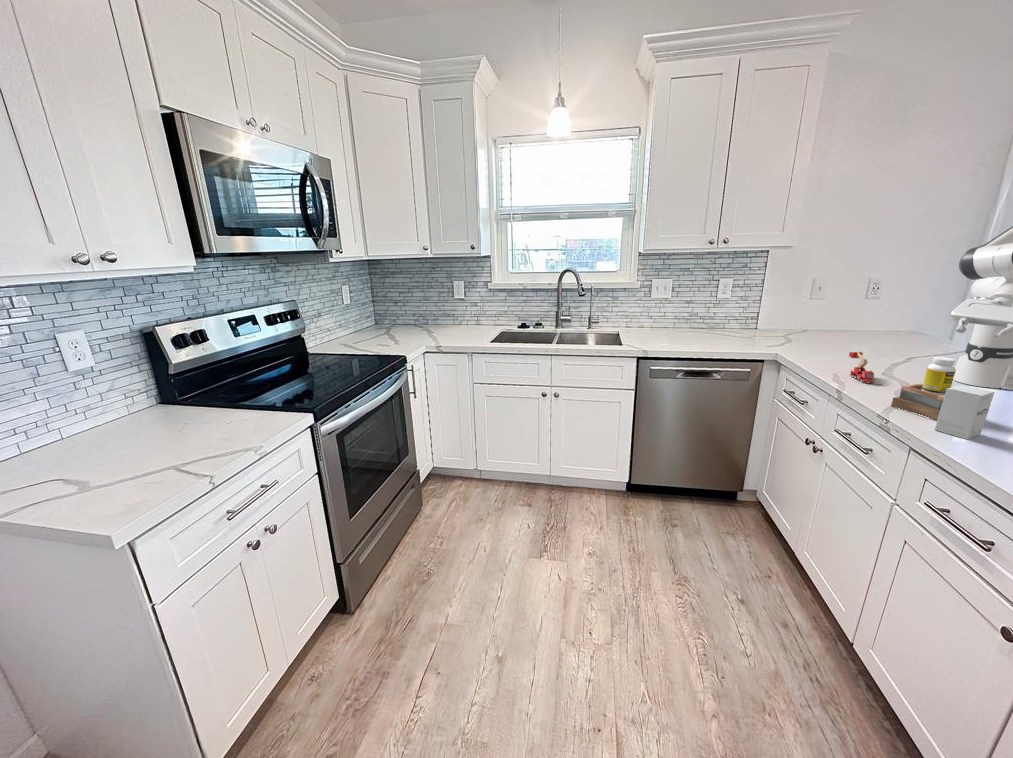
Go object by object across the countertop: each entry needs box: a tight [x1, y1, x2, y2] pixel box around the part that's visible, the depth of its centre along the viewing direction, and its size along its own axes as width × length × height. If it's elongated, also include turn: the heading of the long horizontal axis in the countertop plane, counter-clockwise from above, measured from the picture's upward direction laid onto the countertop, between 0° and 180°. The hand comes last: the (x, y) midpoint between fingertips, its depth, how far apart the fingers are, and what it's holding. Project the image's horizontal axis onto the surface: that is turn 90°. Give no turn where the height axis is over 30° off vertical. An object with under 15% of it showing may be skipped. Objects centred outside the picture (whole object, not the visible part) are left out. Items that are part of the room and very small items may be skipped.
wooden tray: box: [890, 383, 945, 422], centre depth 136 cm, size 13×13×7 cm
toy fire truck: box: [848, 351, 875, 384], centre depth 169 cm, size 3×14×10 cm, turn 168°
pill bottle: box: [922, 356, 956, 395], centre depth 134 cm, size 6×6×11 cm
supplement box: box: [934, 384, 995, 440], centre depth 120 cm, size 7×7×13 cm
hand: (977, 334), depth 133 cm, fingers open, 8 cm apart
